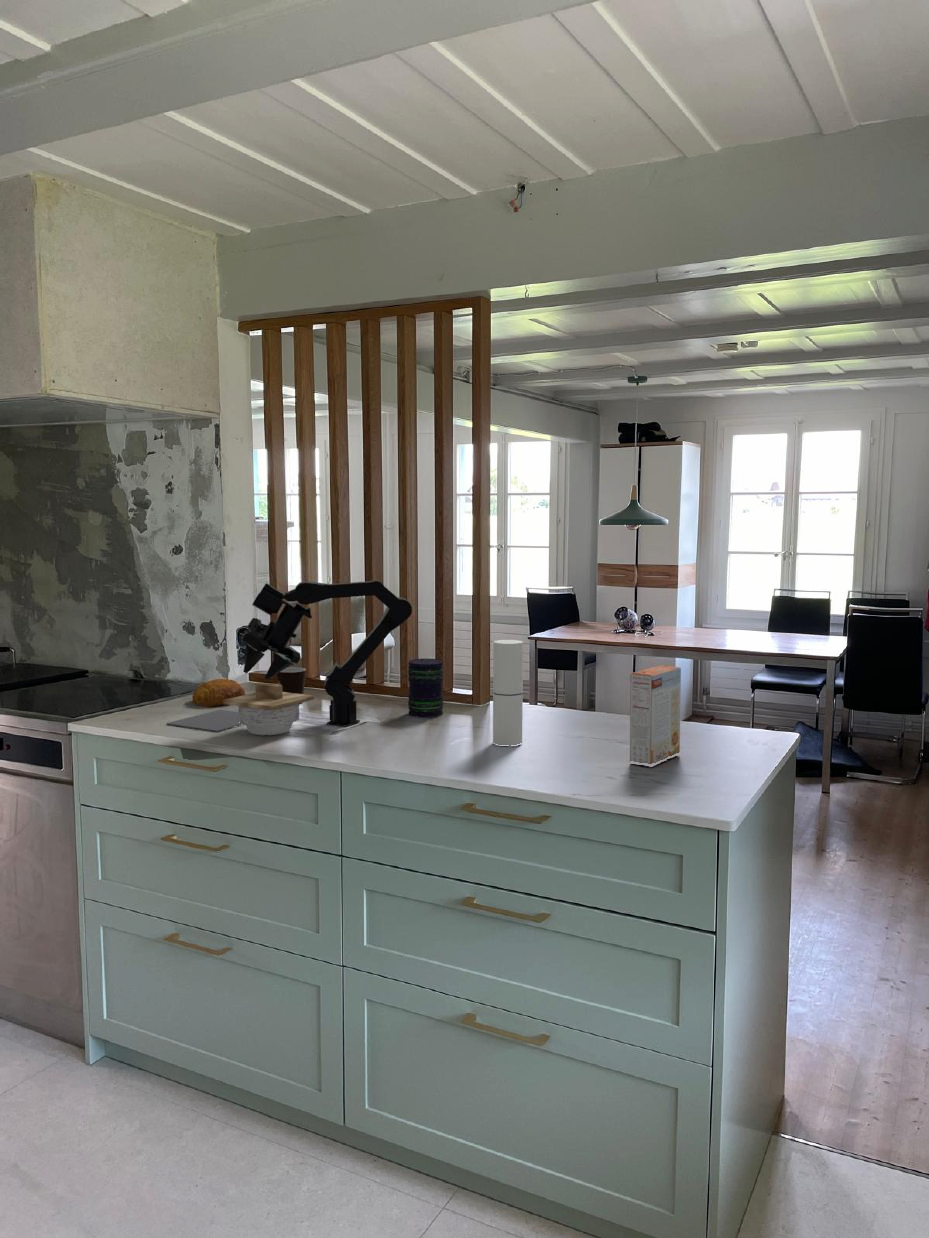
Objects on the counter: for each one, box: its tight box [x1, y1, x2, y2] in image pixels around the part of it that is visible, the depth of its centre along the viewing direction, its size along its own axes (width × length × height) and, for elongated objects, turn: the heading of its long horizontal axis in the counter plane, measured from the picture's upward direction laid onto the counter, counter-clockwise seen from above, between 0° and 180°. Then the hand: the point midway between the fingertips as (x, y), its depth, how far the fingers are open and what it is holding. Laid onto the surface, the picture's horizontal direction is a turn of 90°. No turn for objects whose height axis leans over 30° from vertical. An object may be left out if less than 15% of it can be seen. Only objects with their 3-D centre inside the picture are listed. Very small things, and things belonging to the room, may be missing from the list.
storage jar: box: [407, 658, 444, 719], centre depth 259 cm, size 10×10×15 cm
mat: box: [165, 709, 241, 733], centre depth 250 cm, size 18×20×1 cm
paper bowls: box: [237, 704, 300, 736], centre depth 237 cm, size 15×15×8 cm
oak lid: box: [223, 682, 315, 711], centre depth 237 cm, size 16×16×4 cm
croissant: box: [191, 678, 246, 708], centre depth 276 cm, size 14×16×8 cm
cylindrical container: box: [492, 639, 524, 746], centre depth 225 cm, size 7×7×25 cm
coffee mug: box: [276, 667, 307, 706], centre depth 275 cm, size 12×9×10 cm
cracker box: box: [629, 664, 682, 764], centre depth 210 cm, size 14×6×21 cm, turn 141°
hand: (255, 675), depth 243 cm, fingers open, 9 cm apart
